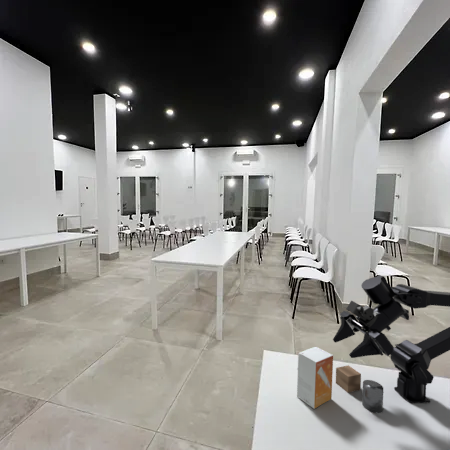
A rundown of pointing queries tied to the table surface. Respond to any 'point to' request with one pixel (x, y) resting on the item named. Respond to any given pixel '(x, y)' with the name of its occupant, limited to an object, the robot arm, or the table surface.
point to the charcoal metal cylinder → (372, 396)
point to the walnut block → (348, 379)
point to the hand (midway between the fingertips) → (341, 348)
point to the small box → (315, 376)
